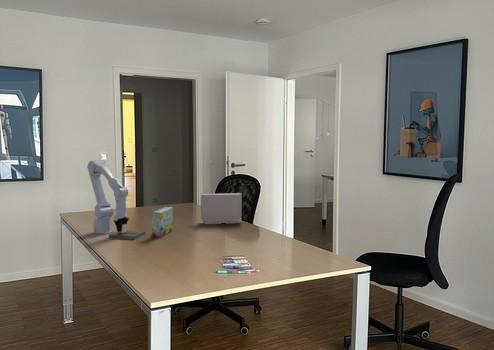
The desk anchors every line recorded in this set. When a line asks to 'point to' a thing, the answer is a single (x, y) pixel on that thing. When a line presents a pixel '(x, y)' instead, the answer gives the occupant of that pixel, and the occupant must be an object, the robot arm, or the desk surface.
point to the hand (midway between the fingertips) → (121, 230)
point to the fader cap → (123, 228)
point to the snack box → (162, 222)
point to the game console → (221, 208)
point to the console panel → (128, 235)
